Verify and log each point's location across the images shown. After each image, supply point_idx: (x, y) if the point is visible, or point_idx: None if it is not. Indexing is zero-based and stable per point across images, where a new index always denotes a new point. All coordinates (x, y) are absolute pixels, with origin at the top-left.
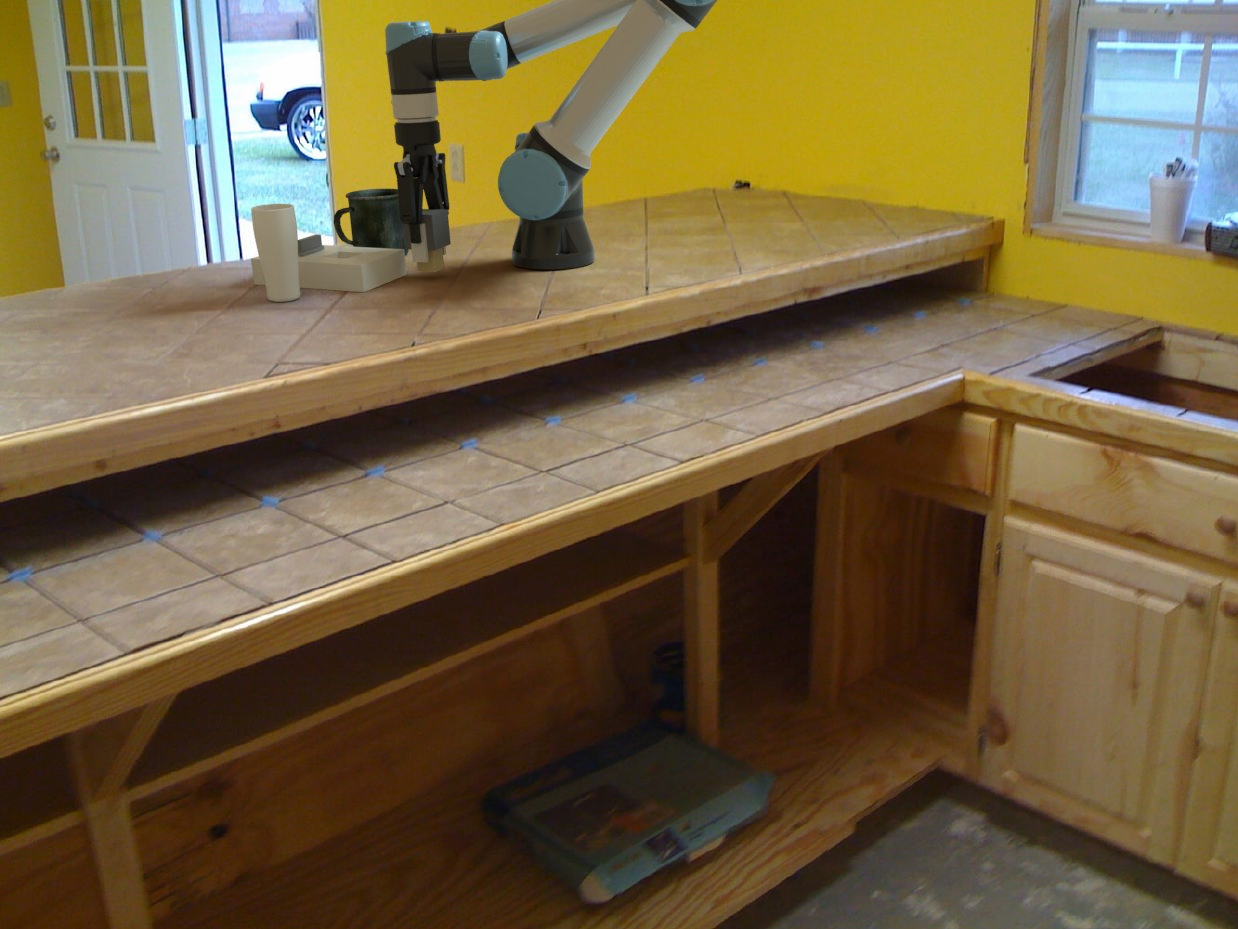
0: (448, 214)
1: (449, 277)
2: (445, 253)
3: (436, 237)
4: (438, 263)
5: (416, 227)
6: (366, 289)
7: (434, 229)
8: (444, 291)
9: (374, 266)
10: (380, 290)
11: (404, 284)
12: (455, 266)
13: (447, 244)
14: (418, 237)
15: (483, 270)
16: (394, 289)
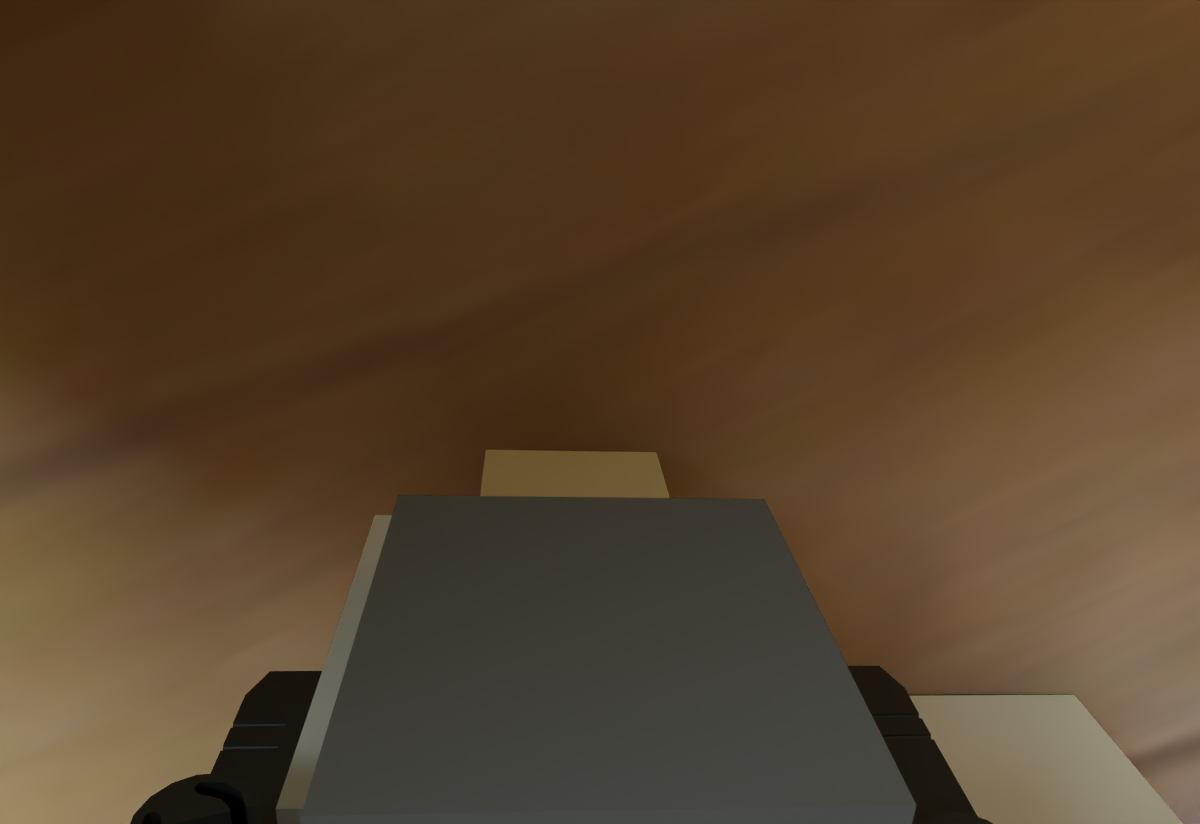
0: (165, 789)
1: (522, 365)
2: (389, 520)
3: (738, 569)
4: (582, 477)
5: (973, 811)
6: (1048, 701)
7: (791, 637)
8: (1027, 167)
9: (992, 803)
10: (1015, 628)
11: (820, 570)
12: (116, 505)
13: (475, 500)
14: (895, 712)
15: (163, 196)
16: (980, 560)
